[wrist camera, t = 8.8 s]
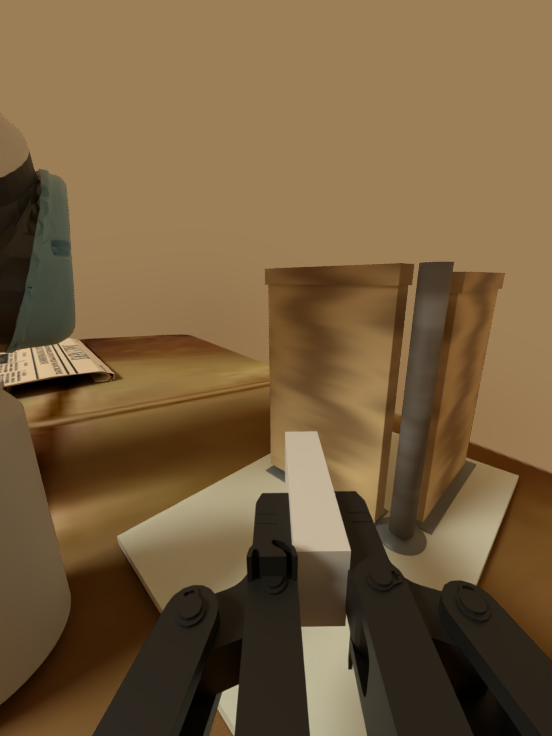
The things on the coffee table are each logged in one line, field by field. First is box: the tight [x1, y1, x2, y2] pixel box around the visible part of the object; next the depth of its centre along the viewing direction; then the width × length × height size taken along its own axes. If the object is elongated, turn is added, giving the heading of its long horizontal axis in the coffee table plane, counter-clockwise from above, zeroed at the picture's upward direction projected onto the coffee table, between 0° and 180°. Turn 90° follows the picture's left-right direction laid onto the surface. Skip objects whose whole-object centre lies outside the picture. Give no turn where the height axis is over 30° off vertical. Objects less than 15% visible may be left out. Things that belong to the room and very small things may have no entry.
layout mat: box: [117, 432, 519, 736], centre depth 21 cm, size 16×24×1 cm, turn 135°
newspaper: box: [0, 338, 115, 395], centre depth 58 cm, size 37×19×3 cm, turn 39°
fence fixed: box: [416, 272, 505, 523], centre depth 20 cm, size 9×2×15 cm, turn 135°
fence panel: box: [265, 262, 454, 539], centre depth 19 cm, size 11×2×15 cm, turn 45°
